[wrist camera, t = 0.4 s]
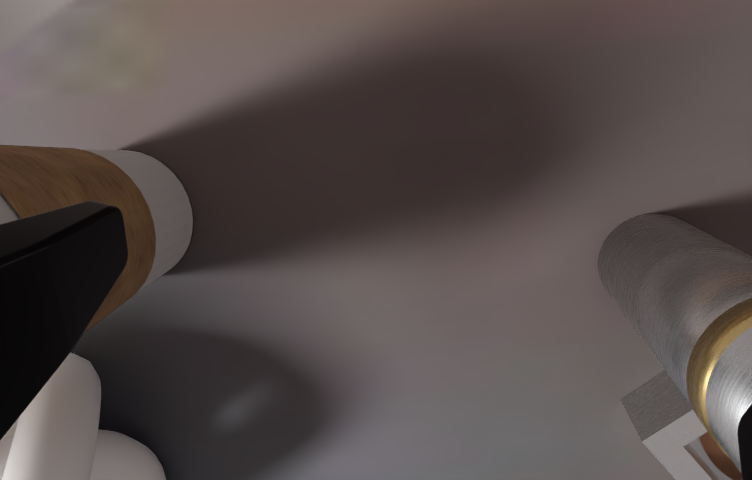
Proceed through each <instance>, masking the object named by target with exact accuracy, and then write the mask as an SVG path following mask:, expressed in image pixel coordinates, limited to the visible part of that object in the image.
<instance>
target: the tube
mask: <svg viewBox="0 0 752 480" xmlns="http://www.w3.org/2000/svg"><path fill="white" fill-rule="evenodd" d="M598 272H599V276H600V279H601V282H602V284H603V286H604V288H605V289H606V291H607V292H608V294H609V295H610V296H611V298H612V299H613V300H614V302H615V303H616V304H617V306H618V307H619V308H620V310H621V311H622V312H623V314H624V315H625V317H626V318H627V319H628V321H629V322H630V323H631V325H632V326H633V327H634V329H635V330H636V331H637V333H638V334H639V335H640V337H641V338H642V340H643V341H644V342H645V344H646V345H647V346H648V348H649V349H650V350H651V352H652V353H653V354H654V356H655V357H656V358H657V360H658V361H659V363H660V364H661V365H662V367H663V368H664V369H665V371H666V372H667V373H668V375H669V376H670V377H671V379H672V380H673V381H674V383H675V384H676V386H677V387H678V388H679V390H680V391H681V392H682V394H683V395H684V396H685V398H686V399H687V400H688V402H689V403H690V404H691V406H692V408H693V410H694V412H695V414H696V416H697V417H698V419H699V420H700V422H701V423H702V424H703V426H704V427H705V429H706V430H707V431H708V433H709V434H710V435H711V437H712V438H713V440H714V441H715V442H716V444H717V445H718V446H719V447H720V449H721V450H722V451H723V452H724V453H725V454H726V455H727V456H728V457H729V458H730V459H731V460H732V461H733V463H734V464H735V465H736V467H737V468H738V469H739V471H740V472H741V465H740V455H739V446H738V434H737V432H738V425H739V422H740V419H741V417H742V416H743V414H744V413H745V412H746V410H747V409H748V408H749V407H750V405H751V404H752V256H750V255H748V254H746V253H744V252H742V251H740V250H738V249H736V248H735V247H733V246H731V245H729V244H727V243H725V242H723V241H721V240H719V239H717V238H715V237H713V236H711V235H710V234H708V233H706V232H704V231H702V230H700V229H698V228H696V227H694V226H692V225H690V224H688V223H687V222H685V221H683V220H681V219H679V218H676V217H674V216H670V215H666V214H644V215H640V216H636V217H633V218H631V219H629V220H627V221H625V222H623V223H622V224H620V225H619V226H618V227H616V228H615V229H614V230H613V231H612V232H611V233H610V234H609V236H608V237H607V238H606V240H605V241H604V243H603V245H602V248H601V250H600V253H599V258H598Z"/></svg>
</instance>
